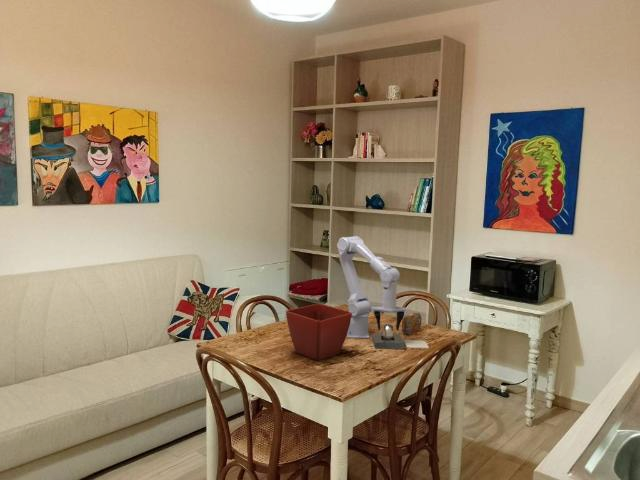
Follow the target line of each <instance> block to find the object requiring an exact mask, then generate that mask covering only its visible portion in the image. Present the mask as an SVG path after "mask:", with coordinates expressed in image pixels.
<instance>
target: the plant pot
mask: <svg viewBox="0 0 640 480" xmlns="http://www.w3.org/2000/svg"><path fill="white" fill-rule="evenodd" d="M285 313H286V314H285V315H286V322H287V327H288V330H289V335H290V338H291V342H292V345H293V348H294V350H295V352H296V353H297V354H300V355H302V356H305V357H308V358H310V359H312V360H316V361H320V360H324V359H327V358H329V357H334V356H336V355H339V354H340V353H341V351H342V349H343V346H344V343H345V341H346V338H347V333H348V329H349V326H350V322H351V317H352V313H351V312H349V310H348V311H347V310H344V309H340V308H336V307H333V306H330V305H325V304H322V303H316V304H310V305H306V306H302V307H297V308H292V309H288V310H285Z"/></svg>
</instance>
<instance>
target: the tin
mask: <svg viewBox="0 0 640 480" xmlns="http://www.w3.org/2000/svg"><path fill="white" fill-rule="evenodd" d="M421 326H422V316H421V313H420V312H411V313H409V314H407V315H404V317H403V319H402V321H401V329H402V330H401V331H402V333H403V335H409V336H410V335H411V336H412V335H413V334H414V333H417V332H418V331H419V330H420V328H421Z"/></svg>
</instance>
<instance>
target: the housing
mask: <svg viewBox="0 0 640 480" xmlns="http://www.w3.org/2000/svg"><path fill="white" fill-rule="evenodd" d="M371 341H372V344H373V345H372V346H373V347H374V348H373V349H381V350H383V349H384V350H385V349H386V350H388V349H389V350H404V349H405V343H404V339H403V337H402V335H401V334H400V333H398V334H397V333H393V340H383V333H372V334H371Z"/></svg>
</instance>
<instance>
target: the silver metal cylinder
mask: <svg viewBox="0 0 640 480" xmlns="http://www.w3.org/2000/svg"><path fill="white" fill-rule="evenodd" d="M382 327H383V328H382V329H383V330H382V331H383V332H382V334H383V340H393V334H394V325H393V324H391V323H385V324H384V325H383V326H382Z"/></svg>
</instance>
